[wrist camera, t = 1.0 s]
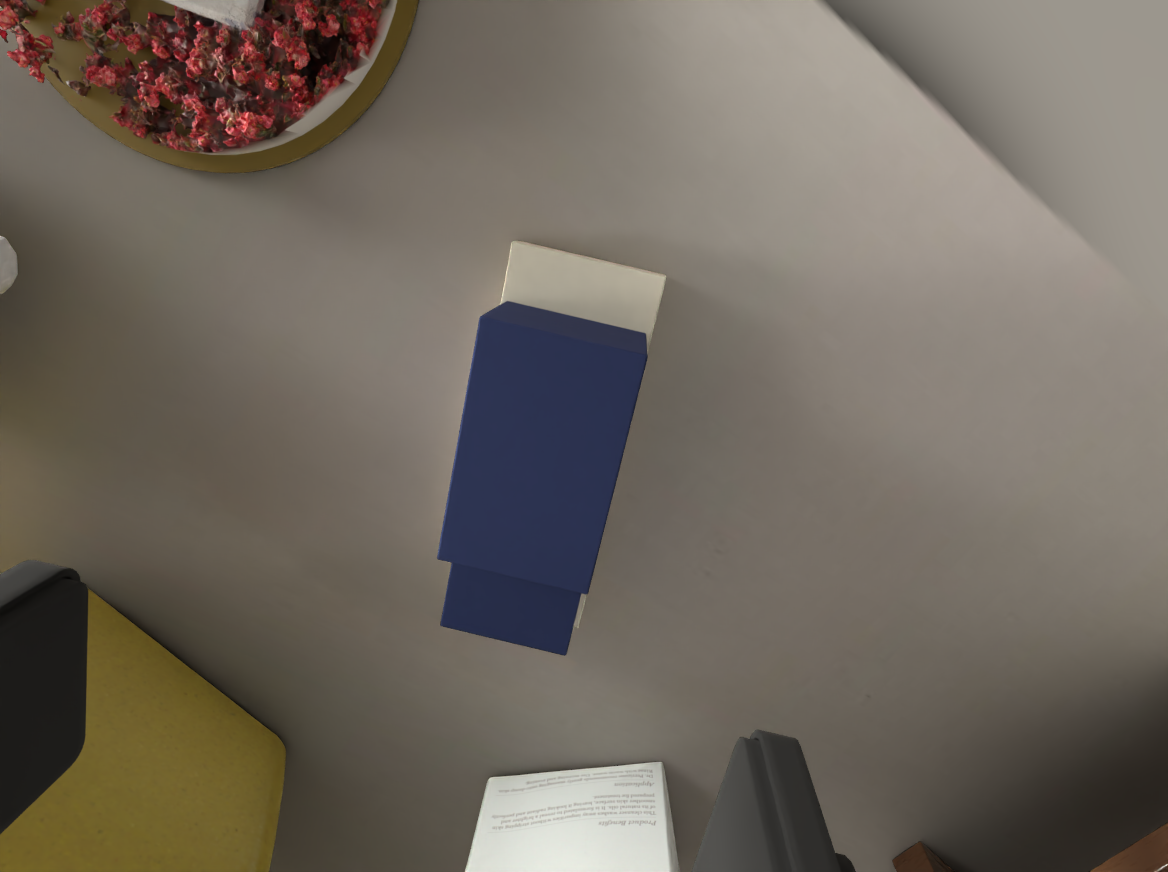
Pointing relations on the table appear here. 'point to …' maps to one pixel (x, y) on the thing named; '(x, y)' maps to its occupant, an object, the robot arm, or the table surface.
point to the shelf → (1147, 868)
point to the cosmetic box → (576, 822)
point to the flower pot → (153, 772)
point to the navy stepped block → (543, 442)
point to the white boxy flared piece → (7, 265)
